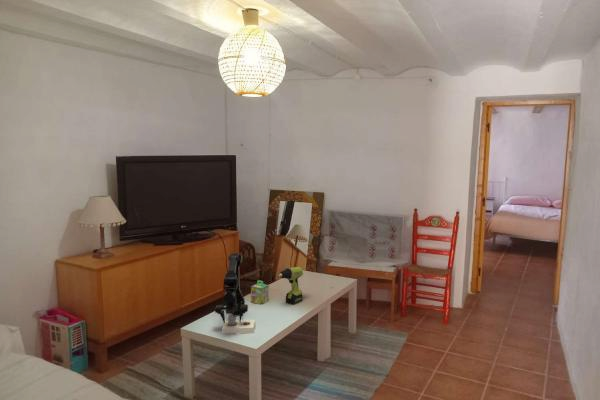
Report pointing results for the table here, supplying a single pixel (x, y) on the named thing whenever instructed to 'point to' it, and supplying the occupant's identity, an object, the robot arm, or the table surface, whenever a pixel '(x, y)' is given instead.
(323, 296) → the table surface
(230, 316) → the square peg
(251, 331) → the socket plate
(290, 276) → the cordless drill
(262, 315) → the table surface
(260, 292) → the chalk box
